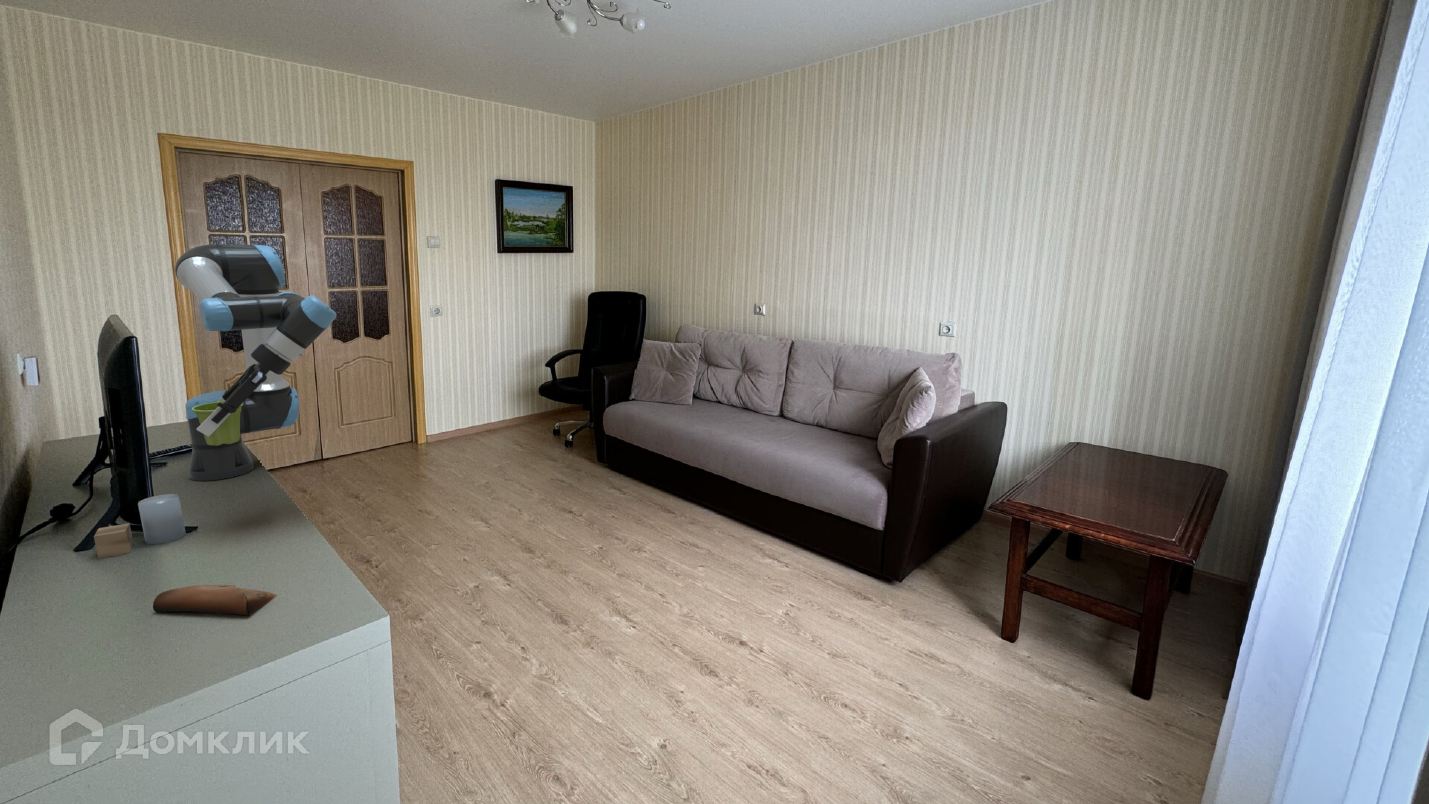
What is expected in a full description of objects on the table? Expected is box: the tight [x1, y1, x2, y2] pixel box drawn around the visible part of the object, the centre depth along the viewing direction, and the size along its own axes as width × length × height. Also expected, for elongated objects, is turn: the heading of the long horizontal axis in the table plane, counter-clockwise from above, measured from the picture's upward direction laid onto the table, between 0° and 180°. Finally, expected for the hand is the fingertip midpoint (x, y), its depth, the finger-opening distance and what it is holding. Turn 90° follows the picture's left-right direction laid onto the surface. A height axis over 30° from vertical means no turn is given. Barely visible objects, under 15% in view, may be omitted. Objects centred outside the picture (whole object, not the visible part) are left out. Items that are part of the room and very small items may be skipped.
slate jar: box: [137, 493, 187, 545], centre depth 147 cm, size 7×7×9 cm
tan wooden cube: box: [93, 523, 134, 559], centre depth 140 cm, size 5×5×5 cm
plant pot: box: [192, 401, 243, 446], centre depth 150 cm, size 9×9×9 cm
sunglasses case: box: [152, 584, 278, 617], centre depth 119 cm, size 18×7×7 cm
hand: (203, 427), depth 149 cm, fingers closed on plant pot, 9 cm apart
